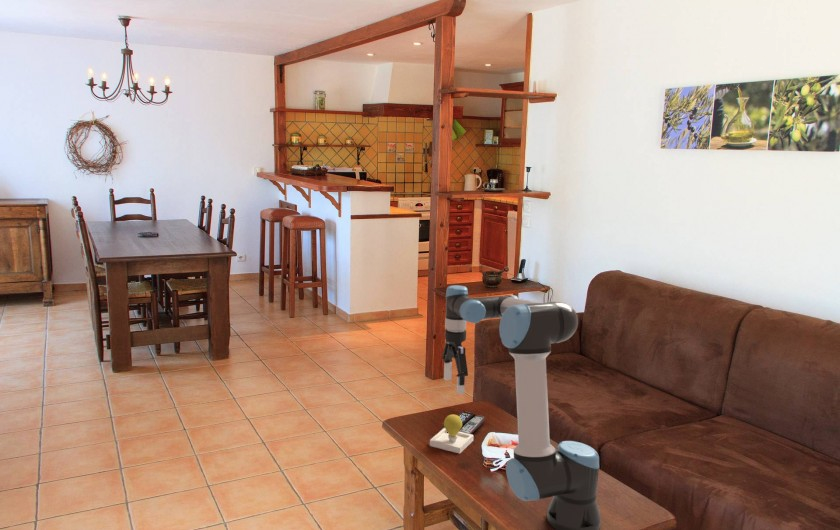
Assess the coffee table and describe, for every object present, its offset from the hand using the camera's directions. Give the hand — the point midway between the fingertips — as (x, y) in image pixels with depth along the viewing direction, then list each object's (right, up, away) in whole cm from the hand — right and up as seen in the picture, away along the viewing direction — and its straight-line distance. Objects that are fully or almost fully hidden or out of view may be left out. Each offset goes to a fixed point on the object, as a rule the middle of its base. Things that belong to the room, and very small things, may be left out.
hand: (453, 386), depth 229 cm
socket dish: (-1, -22, +4) cm, 22 cm away
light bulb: (0, -21, +3) cm, 21 cm away
